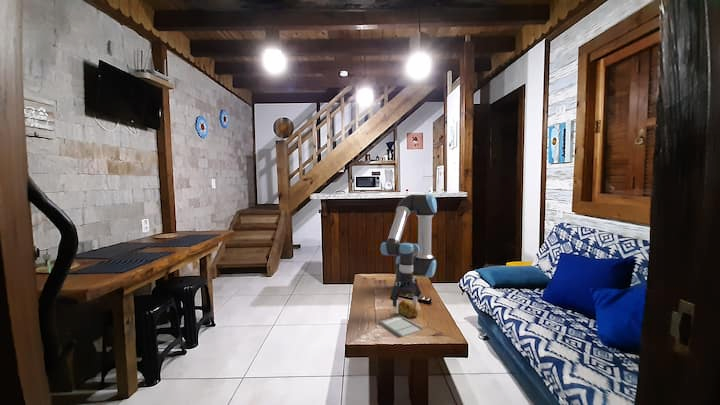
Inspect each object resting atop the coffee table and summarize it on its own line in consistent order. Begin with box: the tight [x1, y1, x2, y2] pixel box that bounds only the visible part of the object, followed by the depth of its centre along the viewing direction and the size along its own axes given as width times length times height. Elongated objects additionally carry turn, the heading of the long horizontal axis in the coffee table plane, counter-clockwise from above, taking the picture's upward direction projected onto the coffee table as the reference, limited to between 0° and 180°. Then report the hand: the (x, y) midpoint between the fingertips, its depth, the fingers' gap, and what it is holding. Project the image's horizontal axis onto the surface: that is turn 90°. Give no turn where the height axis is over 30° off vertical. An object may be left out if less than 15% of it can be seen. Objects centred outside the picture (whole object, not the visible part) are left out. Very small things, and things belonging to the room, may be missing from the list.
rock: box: [396, 299, 419, 319], centre depth 168 cm, size 11×8×10 cm
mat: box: [378, 314, 423, 338], centre depth 155 cm, size 14×18×1 cm
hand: (405, 310), depth 168 cm, fingers open, 13 cm apart
